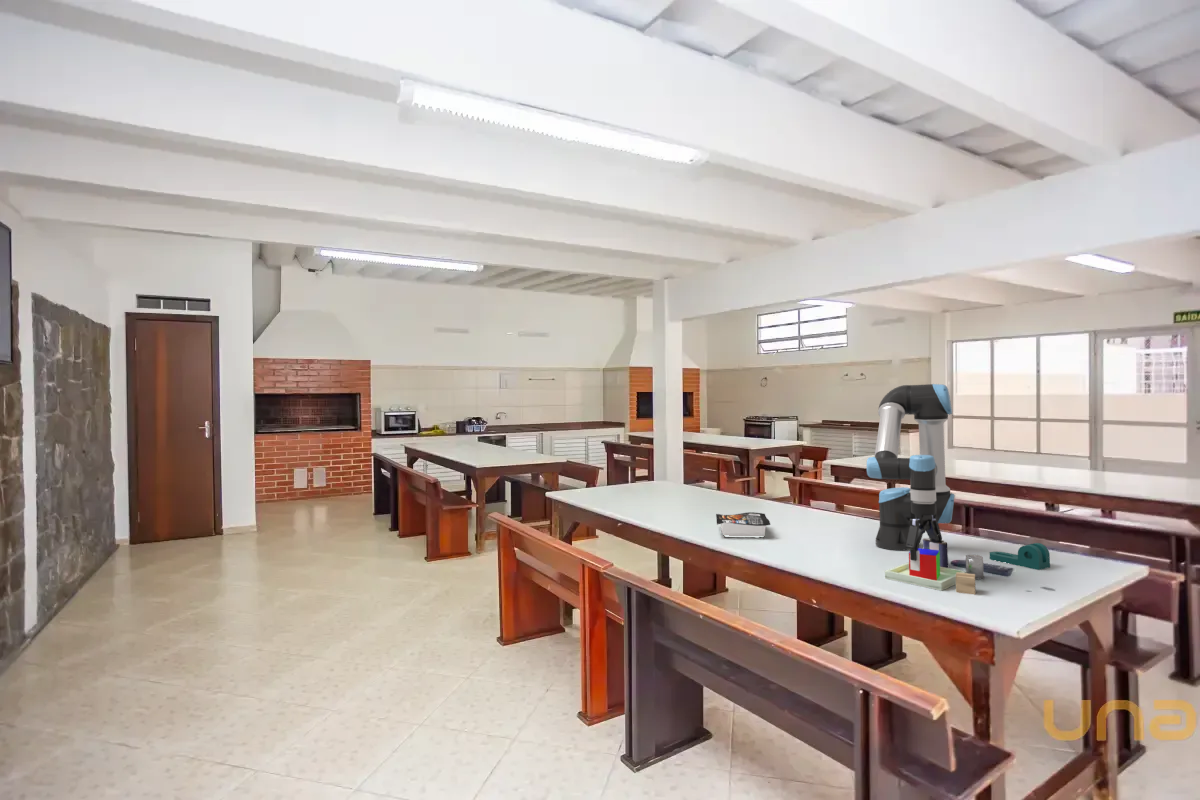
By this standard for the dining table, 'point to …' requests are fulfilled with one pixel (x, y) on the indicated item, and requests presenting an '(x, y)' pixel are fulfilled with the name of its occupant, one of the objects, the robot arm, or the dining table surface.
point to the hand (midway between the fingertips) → (925, 566)
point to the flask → (942, 551)
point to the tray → (943, 582)
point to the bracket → (1026, 556)
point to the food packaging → (743, 524)
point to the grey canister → (975, 566)
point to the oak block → (965, 583)
